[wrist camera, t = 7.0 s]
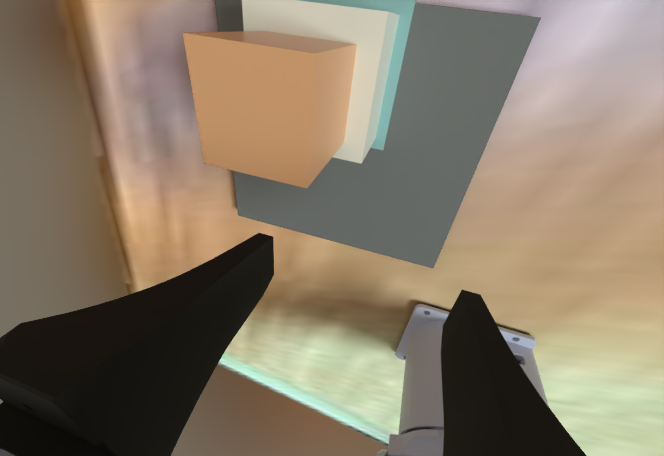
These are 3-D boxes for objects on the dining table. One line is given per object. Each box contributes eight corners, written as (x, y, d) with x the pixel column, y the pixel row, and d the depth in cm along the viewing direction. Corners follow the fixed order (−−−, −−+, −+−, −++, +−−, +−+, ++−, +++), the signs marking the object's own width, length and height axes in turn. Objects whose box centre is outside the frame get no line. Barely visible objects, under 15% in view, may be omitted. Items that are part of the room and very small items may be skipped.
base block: (399, 15, 14) (388, 11, 11) (375, 138, 17) (361, 163, 14) (283, 0, 15) (241, -7, 12) (282, 120, 18) (250, 139, 15)
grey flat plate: (537, 15, 13) (542, 15, 12) (433, 261, 22) (433, 268, 21) (221, -21, 16) (212, -23, 15) (243, 210, 25) (237, 215, 24)
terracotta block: (356, 44, 12) (315, 53, 8) (344, 142, 14) (306, 188, 10) (264, 30, 12) (182, 32, 8) (267, 126, 15) (204, 163, 11)
